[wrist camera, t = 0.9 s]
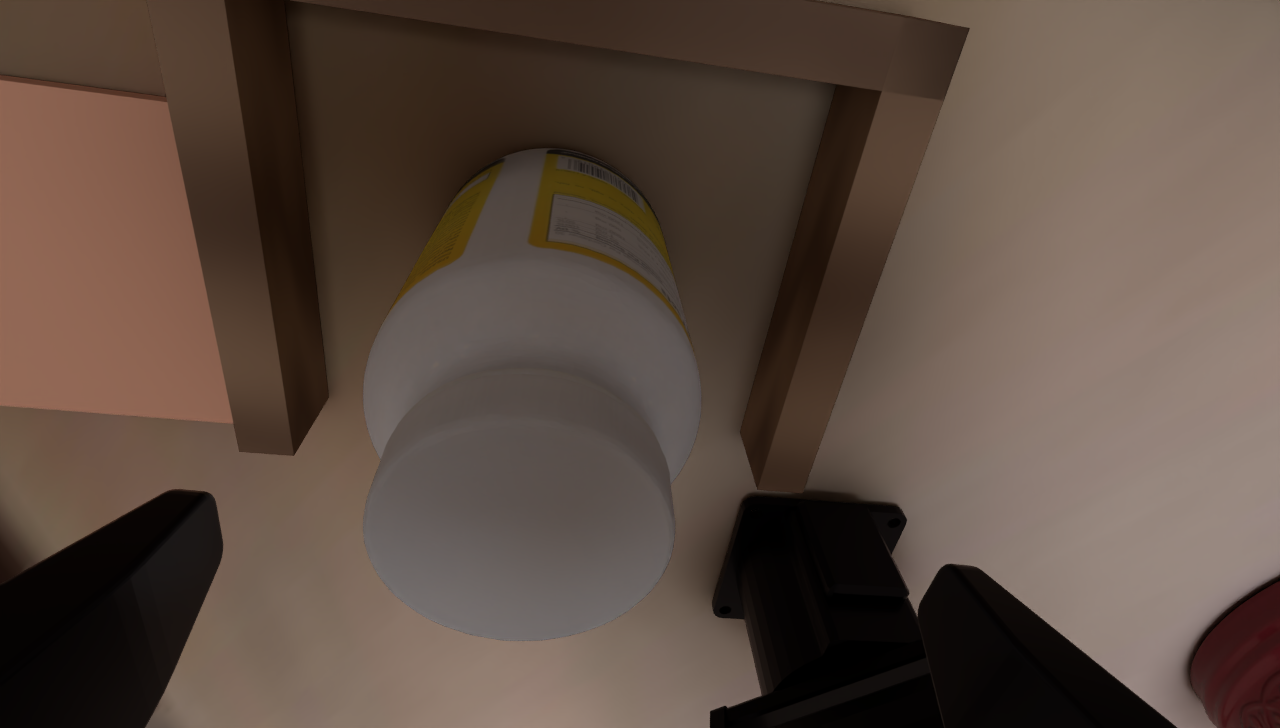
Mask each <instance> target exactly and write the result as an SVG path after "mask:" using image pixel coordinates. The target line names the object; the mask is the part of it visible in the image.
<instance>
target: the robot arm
mask: <svg viewBox="0 0 1280 728" xmlns="http://www.w3.org/2000/svg"><path fill="white" fill-rule="evenodd" d="M753 509H758V510H756V511H751V510H753ZM891 519H892V520H891ZM906 522H907V519H906V517H905V515H904V513H903V511H902V509H900V508H899V507H896V506H884V505H871V504H857V503H843V502H829V501H815V500H801V499H788V498H774V497H760V496H754V497H750V498H747V499H746V500H745V501H743V503H742V505H741V508H740V511H739V514H738V518H737V521H736V524H735V528H734V531H733V534H732V538H731V541H730V544H729V548H728V551H727V554H726V557H725V561H724V564H723V567H722V571H721V574H720V577H719V581H718V584H717V587H716V591H715V594H714V597H713V601H712V607H713V612H714V614H715V615H716V616H717V617H720V618H732V619H745V622H746V627H747V631H748V636H749V640H750V645H751V649H752V654H753V658H754V663H755V667H756V672H757V676H758V680H759V685H760V689H761V694H762V696H760V697H757V698H754V699H751V700H749V701H746V702H743V703H740V704H737V705H735V706H732V707H729V708H727V707H726V706H723V707H720V708H717V709H715V710H712V711H710V728H1177V727H1176V726H1175V725H1173V724H1172V723H1171V722H1170V721H1168V720H1167V719H1166V718H1165V717H1164V716H1162V715H1161V714H1160V713H1159V712H1157V711H1156V710H1155V709H1154V708H1152V707H1151V706H1150V705H1149V704H1147V703H1146V702H1145V701H1144V700H1142V699H1141V698H1140V697H1139V696H1137V695H1136V694H1135V693H1134V692H1132V691H1131V690H1130V689H1129V688H1127V687H1126V686H1125V685H1124V684H1122V683H1121V682H1120V681H1119V680H1117V679H1116V678H1115V677H1114V676H1112V675H1111V674H1110V673H1109V672H1108V671H1106V670H1105V669H1104V668H1103V667H1101V666H1100V665H1099V664H1098V663H1096V662H1095V661H1094V660H1093V659H1091V658H1090V657H1089V656H1088V655H1086V654H1085V653H1084V652H1083V651H1081V650H1080V649H1079V648H1078V647H1076V646H1075V645H1074V644H1073V643H1071V642H1070V641H1069V640H1068V639H1066V638H1065V637H1064V636H1063V635H1061V634H1060V633H1059V632H1058V631H1057V630H1055V629H1054V628H1053V627H1052V626H1050V625H1049V624H1048V623H1047V622H1045V621H1044V620H1043V619H1042V618H1040V617H1039V616H1038V615H1037V614H1035V613H1034V612H1033V611H1032V610H1030V609H1029V608H1028V607H1027V606H1025V605H1024V604H1023V603H1022V602H1020V601H1019V600H1018V599H1017V598H1015V597H1014V596H1013V595H1012V594H1010V593H1009V592H1008V591H1007V590H1005V589H1004V588H1003V587H1002V586H1001V585H999V584H998V583H997V582H996V581H994V580H993V579H992V578H991V577H989V576H988V575H987V574H986V573H984V572H983V571H982V570H980V569H979V568H977V567H974V566H968V565H958V564H946V565H944V566H943V567H941V568H940V570H939V571H938V573H937V574H936V576H935V578H934V580H933V581H932V583H931V585H930V586H929V588H928V590H927V592H926V593H925V595H924V597H923V598H922V600H921V602H920V604H919V608H918V617H917V615H916V613H915V611H914V609H913V607H912V604H911V602H910V600H909V598H908V595H909V590H908V588H907V586H906V584H905V582H904V580H903V578H902V576H901V574H900V572H899V570H898V568H897V565H896V563H895V561H894V559H893V557H892V555H891V554H892V552H893V550H894V548H895V546H896V544H897V542H898V540H899V538H900V536H901V534H902V531H903V529H904V527H905V525H906ZM222 553H223V539H222V533H221V528H220V522H219V517H218V511H217V505H216V501H215V498H214V497H213V496H212V495H211V494H210V493H208V492H204V491H193V490H183V489H172V490H169V491H166V492H164V493H162V494H160V495H159V496H157V497H155V498H153V499H151V500H150V501H148V502H146V503H144V504H142V505H141V506H139V507H137V508H135V509H134V510H132V511H130V512H128V513H126V514H125V515H123V516H121V517H119V518H117V519H116V520H114V521H112V522H110V523H109V524H107V525H105V526H103V527H101V528H100V529H98V530H96V531H94V532H92V533H91V534H89V535H87V536H85V537H84V538H82V539H80V540H78V541H76V542H75V543H73V544H71V545H69V546H67V547H66V548H64V549H62V550H60V551H58V552H57V553H55V554H53V555H51V556H50V557H48V558H46V559H44V560H42V561H41V562H39V563H37V564H35V565H33V566H32V567H30V568H28V569H26V570H25V571H23V572H21V573H19V574H17V575H16V576H14V577H12V578H10V579H8V580H7V581H5V582H3V583H1V584H0V728H145V727H146V725H147V724H148V722H149V720H150V718H151V716H152V715H153V713H154V711H155V709H156V707H157V705H158V703H159V701H160V699H161V697H162V696H163V694H164V692H165V689H166V687H167V685H168V683H169V681H170V679H171V676H172V674H173V672H174V670H175V667H176V665H177V663H178V660H179V658H180V656H181V653H182V651H183V649H184V646H185V644H186V642H187V639H188V637H189V635H190V632H191V630H192V628H193V625H194V623H195V621H196V618H197V616H198V614H199V611H200V609H201V607H202V604H203V602H204V600H205V597H206V595H207V593H208V590H209V588H210V586H211V583H212V581H213V579H214V576H215V574H216V572H217V569H218V567H219V564H220V562H221V558H222Z"/></svg>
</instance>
